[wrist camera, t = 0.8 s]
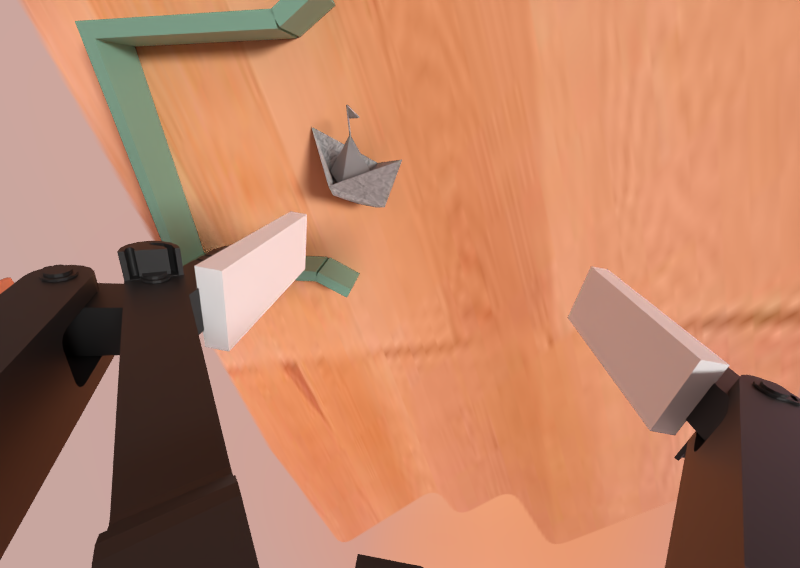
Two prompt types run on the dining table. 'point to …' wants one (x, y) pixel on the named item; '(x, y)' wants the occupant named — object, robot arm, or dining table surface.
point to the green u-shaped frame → (140, 122)
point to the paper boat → (355, 170)
